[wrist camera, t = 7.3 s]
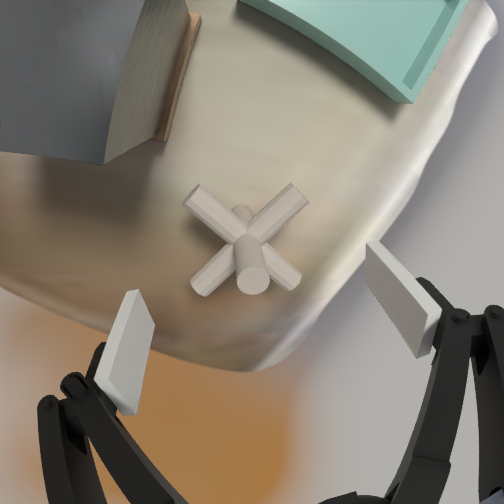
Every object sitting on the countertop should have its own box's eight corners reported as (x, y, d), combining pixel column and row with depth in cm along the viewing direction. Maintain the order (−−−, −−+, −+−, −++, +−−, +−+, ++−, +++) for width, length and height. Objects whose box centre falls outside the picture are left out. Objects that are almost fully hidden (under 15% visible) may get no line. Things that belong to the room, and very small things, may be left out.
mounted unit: (33, 121, 19) (-75, 154, 8) (58, 13, 15) (-39, -18, 3) (167, 138, 22) (113, 179, 10) (201, 20, 17) (184, -58, 6)
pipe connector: (321, 213, 26) (370, 273, 17) (242, 285, 29) (252, 365, 20) (240, 131, 22) (254, 150, 13) (158, 219, 25) (128, 285, 16)
